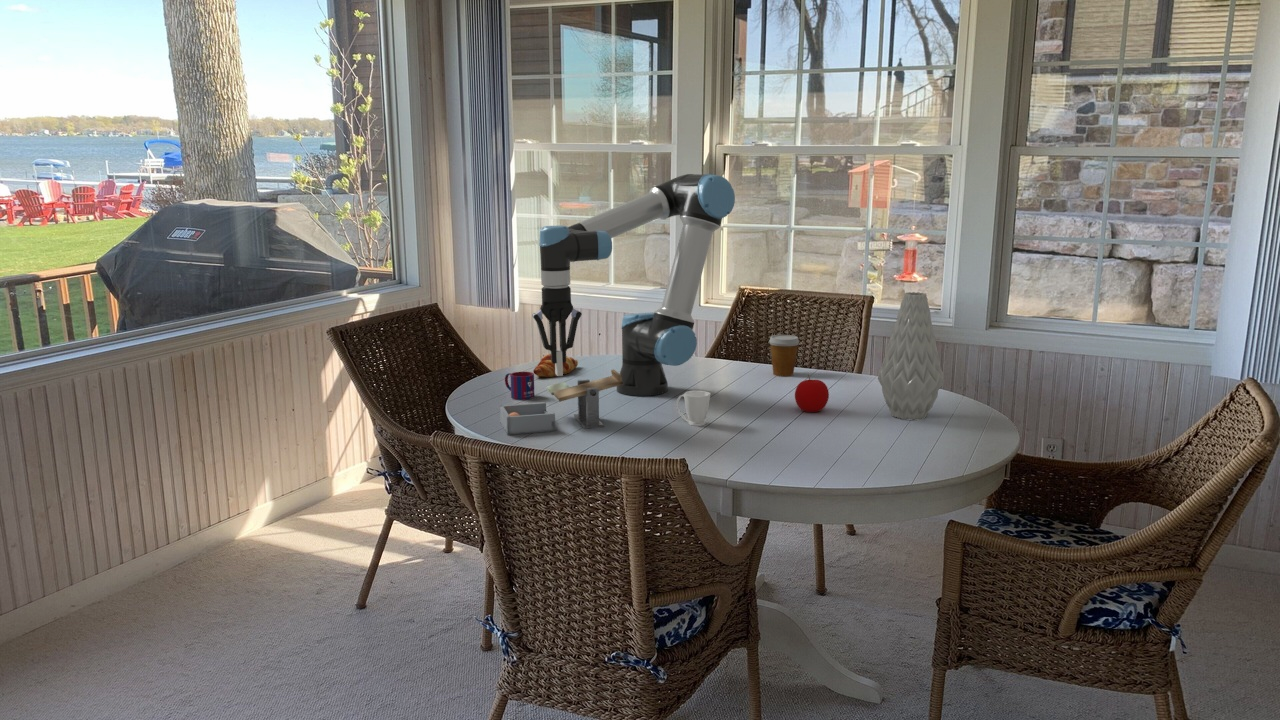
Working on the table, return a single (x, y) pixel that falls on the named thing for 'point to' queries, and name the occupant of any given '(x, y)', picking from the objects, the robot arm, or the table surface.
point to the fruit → (811, 395)
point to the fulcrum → (588, 407)
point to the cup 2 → (695, 406)
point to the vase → (911, 361)
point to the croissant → (553, 366)
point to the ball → (514, 414)
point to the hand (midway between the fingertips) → (559, 374)
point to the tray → (527, 418)
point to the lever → (584, 387)
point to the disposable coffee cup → (783, 354)
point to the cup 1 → (521, 385)
